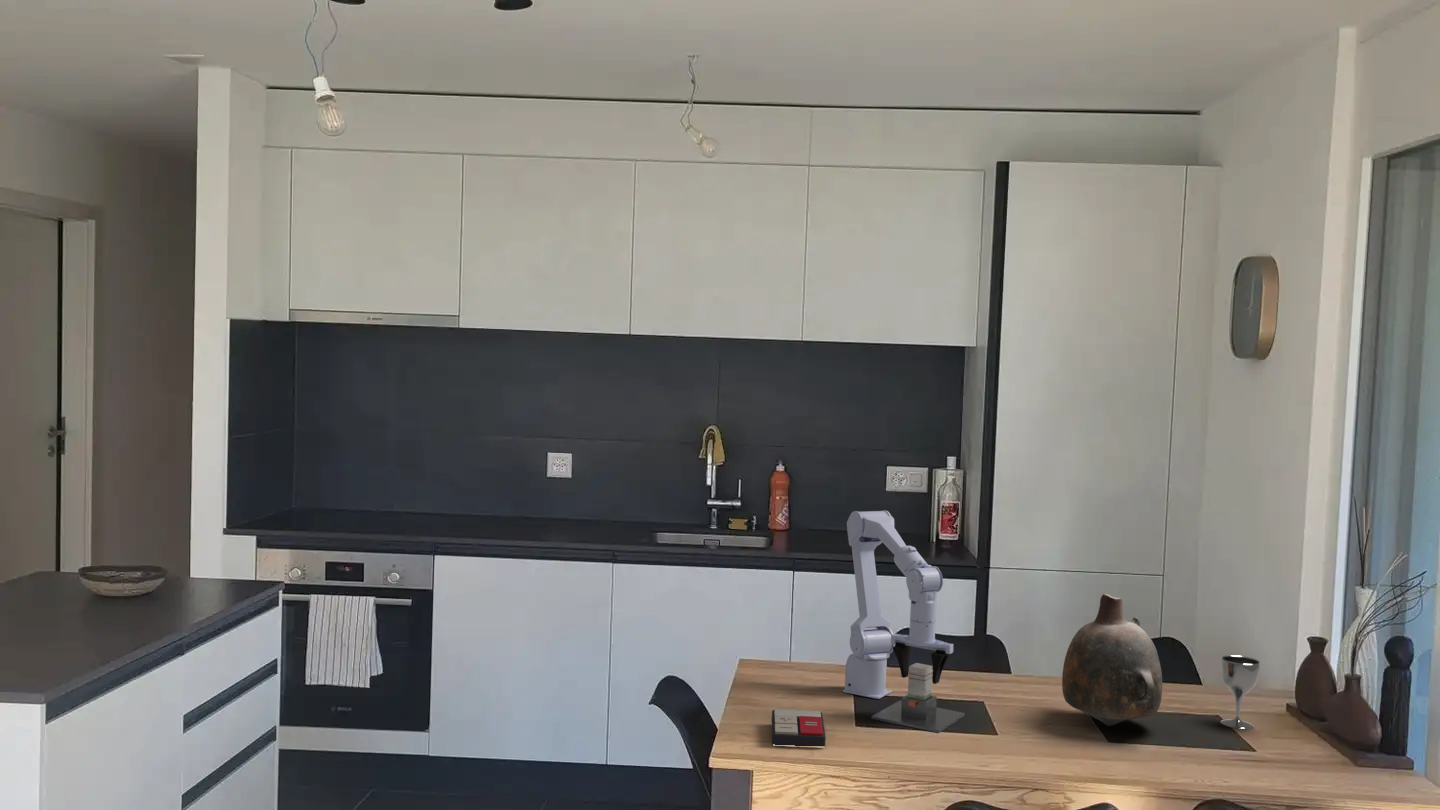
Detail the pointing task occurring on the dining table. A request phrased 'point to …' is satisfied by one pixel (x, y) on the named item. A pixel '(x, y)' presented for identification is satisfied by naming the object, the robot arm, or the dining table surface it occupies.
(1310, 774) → the dining table surface
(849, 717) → the dining table surface
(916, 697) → the column
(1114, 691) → the jug
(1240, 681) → the silver goblet
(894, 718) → the stand
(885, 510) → the robot arm
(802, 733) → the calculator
